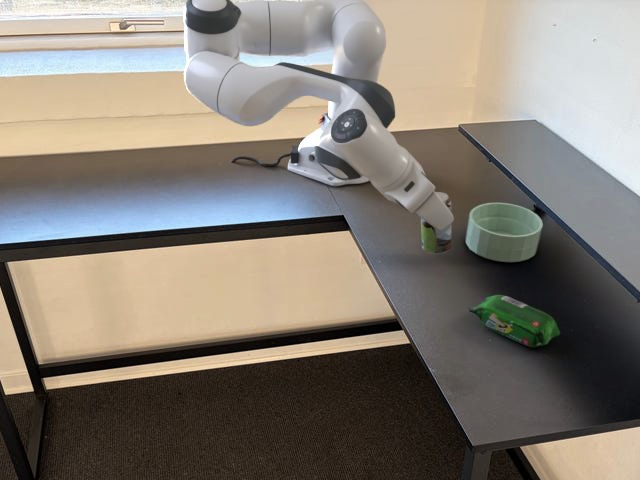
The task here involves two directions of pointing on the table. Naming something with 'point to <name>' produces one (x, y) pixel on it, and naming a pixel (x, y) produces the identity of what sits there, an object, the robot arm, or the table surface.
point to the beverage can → (436, 233)
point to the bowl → (503, 232)
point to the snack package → (516, 320)
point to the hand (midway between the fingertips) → (438, 216)
